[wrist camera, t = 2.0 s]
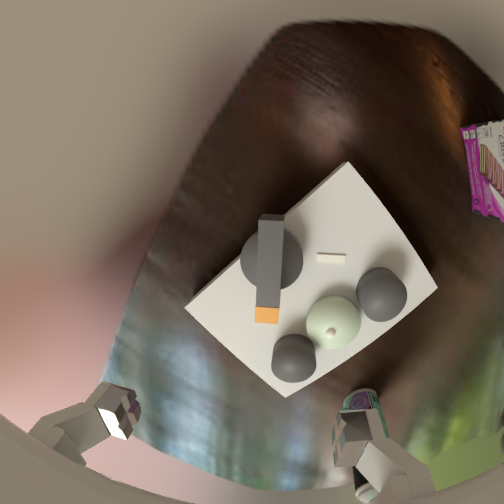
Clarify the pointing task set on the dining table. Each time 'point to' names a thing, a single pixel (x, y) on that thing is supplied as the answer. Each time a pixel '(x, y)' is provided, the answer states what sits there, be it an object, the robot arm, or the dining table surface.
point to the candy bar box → (486, 167)
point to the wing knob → (271, 264)
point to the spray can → (370, 401)
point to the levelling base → (321, 287)
